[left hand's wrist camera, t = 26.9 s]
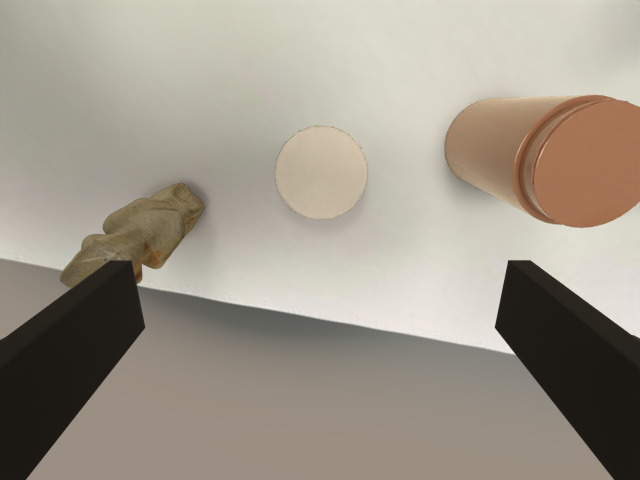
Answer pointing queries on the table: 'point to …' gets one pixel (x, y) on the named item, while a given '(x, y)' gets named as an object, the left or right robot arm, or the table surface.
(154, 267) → the sculpture
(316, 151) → the lid
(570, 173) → the jar
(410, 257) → the table surface
